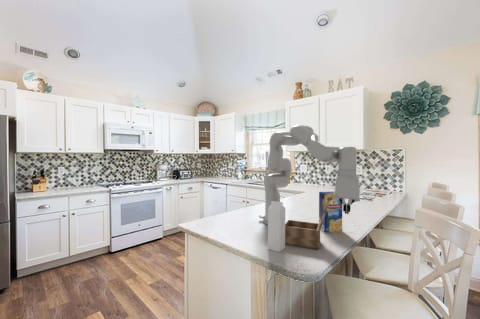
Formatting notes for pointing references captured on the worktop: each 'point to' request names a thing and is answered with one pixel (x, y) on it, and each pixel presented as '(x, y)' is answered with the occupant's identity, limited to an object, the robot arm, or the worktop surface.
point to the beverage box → (330, 213)
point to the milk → (276, 226)
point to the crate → (302, 234)
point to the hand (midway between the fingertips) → (346, 213)
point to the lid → (325, 210)
